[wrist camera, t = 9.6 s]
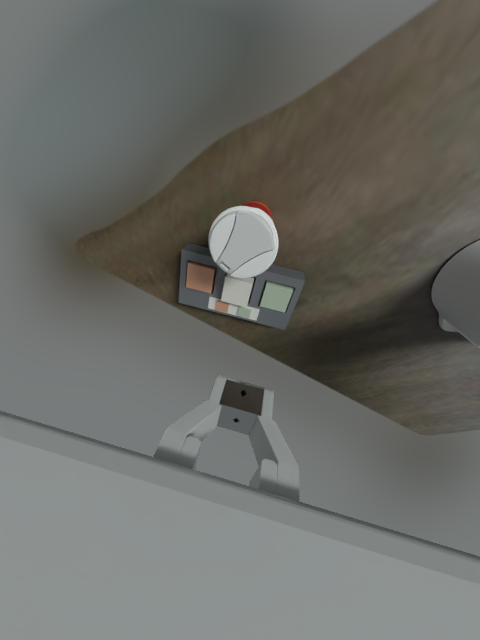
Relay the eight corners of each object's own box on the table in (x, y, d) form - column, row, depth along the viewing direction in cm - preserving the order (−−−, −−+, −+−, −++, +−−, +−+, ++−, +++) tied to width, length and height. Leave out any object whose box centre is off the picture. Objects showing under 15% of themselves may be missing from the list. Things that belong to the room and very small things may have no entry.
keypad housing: (303, 272, 39) (305, 282, 36) (284, 319, 45) (285, 331, 41) (188, 242, 39) (180, 250, 36) (185, 293, 45) (177, 303, 41)
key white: (254, 277, 37) (252, 284, 36) (248, 300, 40) (246, 307, 38) (228, 270, 38) (225, 276, 36) (223, 294, 40) (220, 300, 38)
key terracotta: (217, 264, 39) (214, 269, 37) (214, 287, 41) (210, 293, 39) (192, 258, 39) (187, 263, 37) (190, 281, 41) (185, 287, 39)
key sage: (292, 283, 39) (293, 290, 37) (284, 305, 41) (284, 312, 39) (267, 277, 39) (266, 283, 37) (260, 299, 41) (259, 306, 39)
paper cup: (255, 255, 38) (244, 294, 27) (220, 222, 36) (191, 249, 25) (291, 218, 35) (295, 246, 23) (253, 178, 32) (237, 187, 21)
